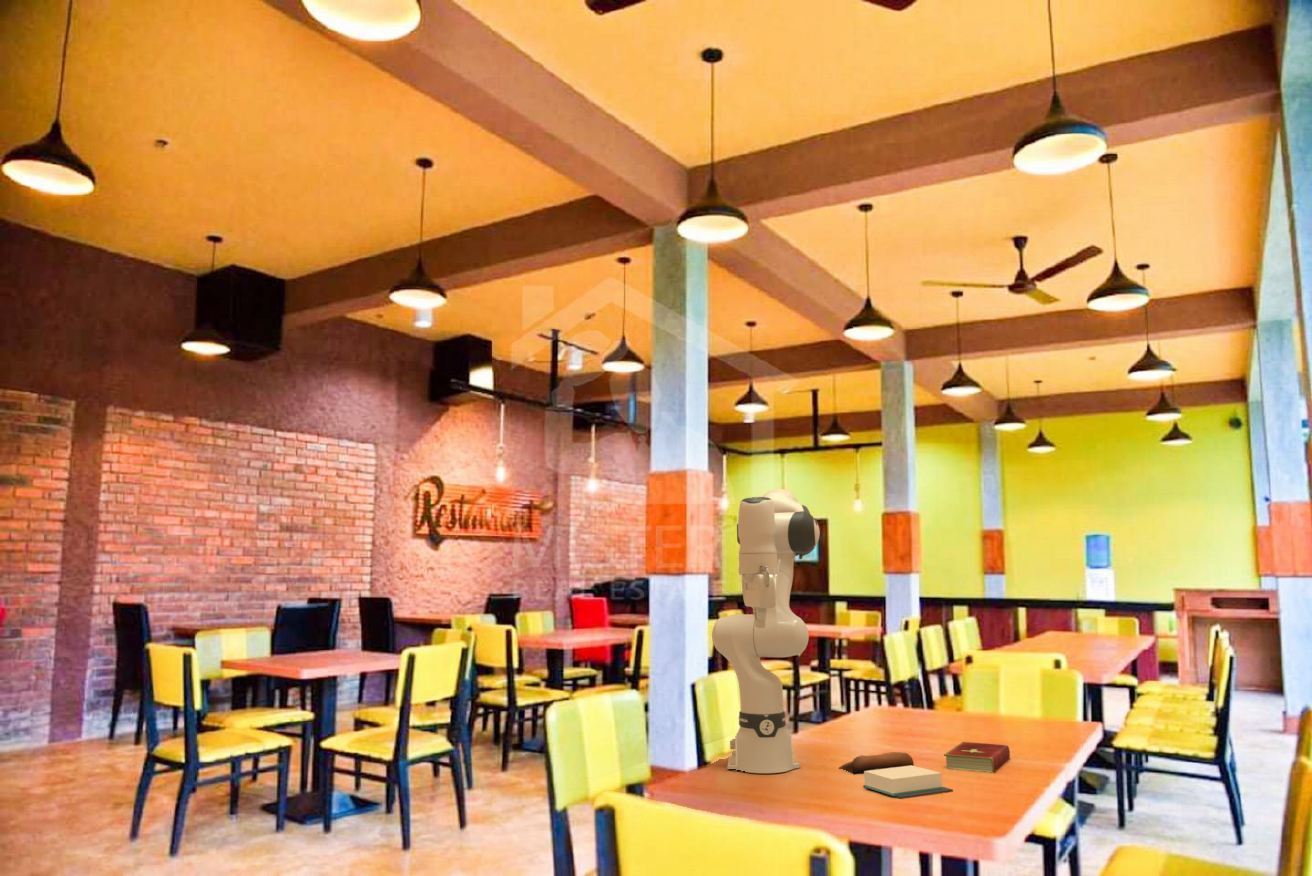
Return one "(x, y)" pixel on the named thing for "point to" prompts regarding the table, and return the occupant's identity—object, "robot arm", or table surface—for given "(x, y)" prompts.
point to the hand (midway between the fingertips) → (760, 627)
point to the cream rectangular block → (903, 780)
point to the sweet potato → (878, 762)
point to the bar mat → (920, 793)
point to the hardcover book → (977, 756)
